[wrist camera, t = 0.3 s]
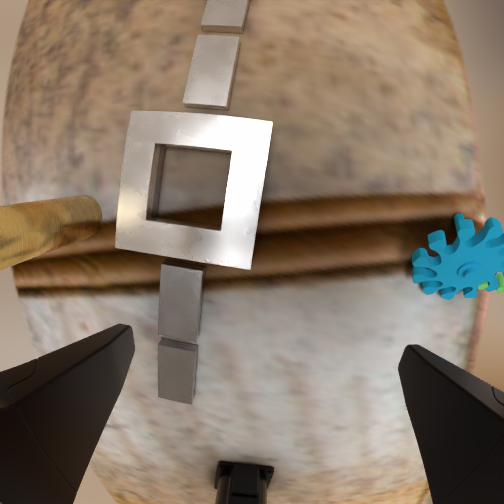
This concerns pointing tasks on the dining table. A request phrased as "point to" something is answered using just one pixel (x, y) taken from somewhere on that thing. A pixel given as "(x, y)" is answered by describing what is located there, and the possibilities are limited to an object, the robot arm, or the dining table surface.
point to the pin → (45, 226)
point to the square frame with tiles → (185, 232)
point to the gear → (462, 260)
